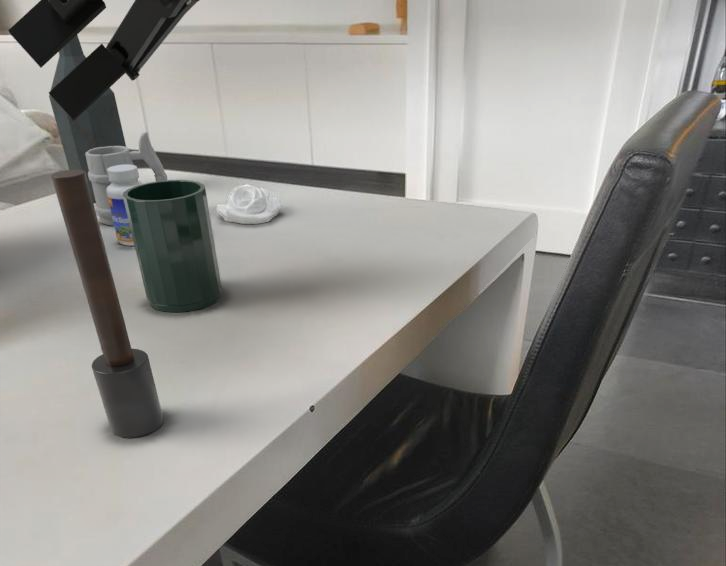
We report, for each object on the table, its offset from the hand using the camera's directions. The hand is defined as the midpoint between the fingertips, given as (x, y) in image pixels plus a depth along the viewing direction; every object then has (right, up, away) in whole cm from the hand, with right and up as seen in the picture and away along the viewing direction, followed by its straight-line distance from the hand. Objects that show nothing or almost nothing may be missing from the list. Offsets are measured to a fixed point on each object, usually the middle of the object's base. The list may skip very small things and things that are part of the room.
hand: (44, 82), depth 55 cm
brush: (+7, -27, +3) cm, 28 cm away
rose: (+8, +9, +51) cm, 52 cm away
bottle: (-19, +17, +63) cm, 68 cm away
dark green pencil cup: (+5, -11, +25) cm, 28 cm away
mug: (-10, +9, +52) cm, 53 cm away
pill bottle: (-7, +2, +43) cm, 43 cm away
